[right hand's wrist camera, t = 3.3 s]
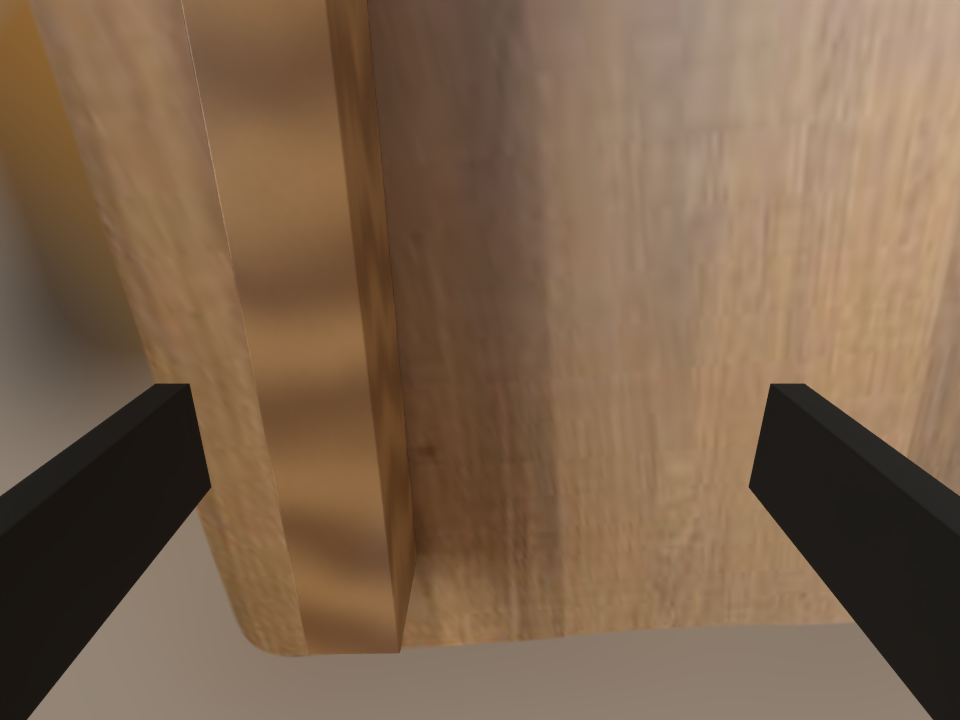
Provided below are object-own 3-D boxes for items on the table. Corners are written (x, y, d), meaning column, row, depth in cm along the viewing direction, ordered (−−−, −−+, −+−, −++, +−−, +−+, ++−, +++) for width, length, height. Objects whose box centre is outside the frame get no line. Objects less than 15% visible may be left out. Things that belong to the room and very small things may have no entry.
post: (417, 555, 35) (400, 654, 28) (342, 556, 35) (307, 655, 28) (285, -923, 16) (131, -1739, 9) (121, -910, 16) (-154, -1706, 9)
